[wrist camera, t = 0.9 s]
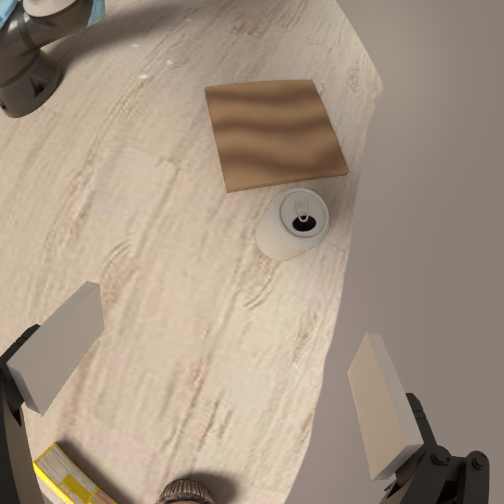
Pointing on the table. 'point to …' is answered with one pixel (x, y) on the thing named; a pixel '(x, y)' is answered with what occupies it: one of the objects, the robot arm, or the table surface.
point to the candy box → (68, 479)
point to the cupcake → (185, 493)
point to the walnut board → (272, 134)
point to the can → (292, 224)
